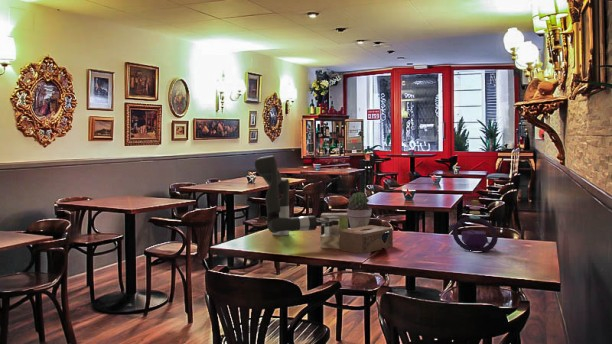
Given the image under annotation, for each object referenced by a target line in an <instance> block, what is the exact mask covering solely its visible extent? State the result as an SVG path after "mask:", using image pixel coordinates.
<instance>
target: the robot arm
mask: <svg viewBox="0 0 612 344" xmlns="http://www.w3.org/2000/svg"><path fill="white" fill-rule="evenodd" d="M254 167H255V170H256V173H257V174H258V175H259V176H260V177H262V179H263V180H264V181H265V183H266V184H267V186H268V189H267V191H266V194H265V197H264V198H265V206H266V225H267V228H268V231H269V232H270V233H271V234H272V235H273V236H280V237H281V236H282V237H283V236H288V235H290V232H298V231H299V232H307V231H315V230H317V227H319V228H321V227H332V225H338V224H339V221H328V220H324V218H321V217H320V218H319V217H316V216H315V215H306V216H305V215H304V216H303V215H302V216H296V217H293V216H292V217H290V180H289V179H288V178H282V174H281V173H280V171H279V169H278V163H277V159H276V157H275V156H274V155H267V156H261V157H258V158H256V159H255V161H254ZM279 195H283V196H282V197H281V198H280V196H279ZM328 223H330V225H328Z"/></svg>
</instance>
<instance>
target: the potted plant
mask: <svg viewBox="0 0 612 344" xmlns="http://www.w3.org/2000/svg"><path fill="white" fill-rule="evenodd" d="M371 195H372V194H371V191H370V190H368V189H367V190H365V191H364V192H362V191H360V190H359V191H358V192H354V193H352V194H351V196H349V200H348V201H349V203H348V204H347V206H343V207H344V209H346V213H348V224H349V227H350V229H353V228H358V227H364V226H369V223H370V218H371V216H372V212H373V209H372V208H370V207H369V206H371V207H372V205H370V204H369V203H368V202H370V197H371Z"/></svg>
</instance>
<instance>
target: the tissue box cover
mask: <svg viewBox="0 0 612 344" xmlns="http://www.w3.org/2000/svg"><path fill="white" fill-rule="evenodd" d="M387 231H389V235H388V239H387V240H386V242H385V243H384V242H383V240H382V235H383V234H384V233H385V232H387ZM393 237H394V228H393V227H388V226H387V227H386V226H379V225H373V224H372V225H371V224H370V225H369V224H368V226H364V227H358V228H353V229H351V228H348V230H342V231H340V248H339V251H344V252H350V253H356V254H360V255H363V254H367V253H371V252H375V251H379V250H383V249H382V248H384V249H387V248H388V249H389V248H392V246H394V243H393V242H394V238H393Z"/></svg>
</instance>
